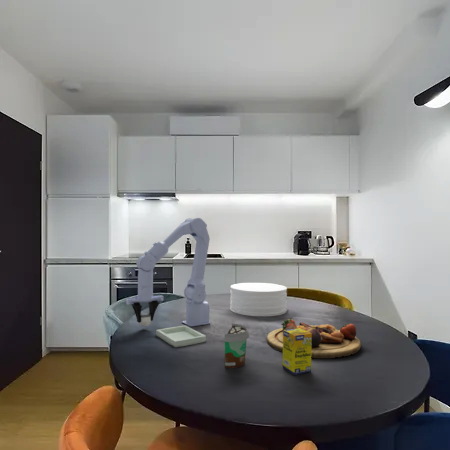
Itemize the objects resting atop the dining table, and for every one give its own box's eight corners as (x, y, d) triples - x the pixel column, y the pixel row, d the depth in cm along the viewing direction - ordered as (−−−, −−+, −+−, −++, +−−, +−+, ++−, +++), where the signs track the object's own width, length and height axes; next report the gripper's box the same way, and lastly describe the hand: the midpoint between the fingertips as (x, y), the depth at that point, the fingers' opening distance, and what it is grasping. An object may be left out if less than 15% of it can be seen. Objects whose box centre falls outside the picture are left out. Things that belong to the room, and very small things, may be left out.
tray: (185, 330, 136) (185, 325, 136) (206, 341, 123) (206, 335, 123) (156, 335, 130) (156, 329, 130) (175, 347, 116) (175, 341, 116)
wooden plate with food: (359, 336, 133) (359, 314, 133) (363, 365, 103) (362, 337, 103) (276, 329, 144) (276, 308, 144) (257, 353, 114) (257, 328, 114)
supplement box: (294, 375, 95) (294, 335, 95) (282, 367, 100) (282, 329, 101) (312, 372, 97) (312, 333, 98) (299, 364, 103) (299, 327, 103)
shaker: (148, 322, 140) (148, 312, 140) (152, 325, 136) (152, 315, 136) (137, 324, 137) (137, 314, 137) (141, 326, 134) (141, 316, 134)
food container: (245, 372, 97) (246, 336, 97) (223, 370, 98) (224, 334, 98) (251, 356, 109) (251, 324, 109) (231, 355, 110) (232, 323, 110)
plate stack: (295, 308, 179) (295, 285, 179) (272, 319, 155) (272, 293, 155) (247, 301, 194) (247, 281, 194) (219, 311, 170) (219, 287, 170)
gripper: (158, 283, 144) (158, 316, 144) (123, 286, 136) (123, 321, 136) (165, 285, 138) (165, 320, 138) (129, 288, 130) (129, 325, 130)
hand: (144, 321), depth 137 cm, fingers closed on shaker, 4 cm apart
